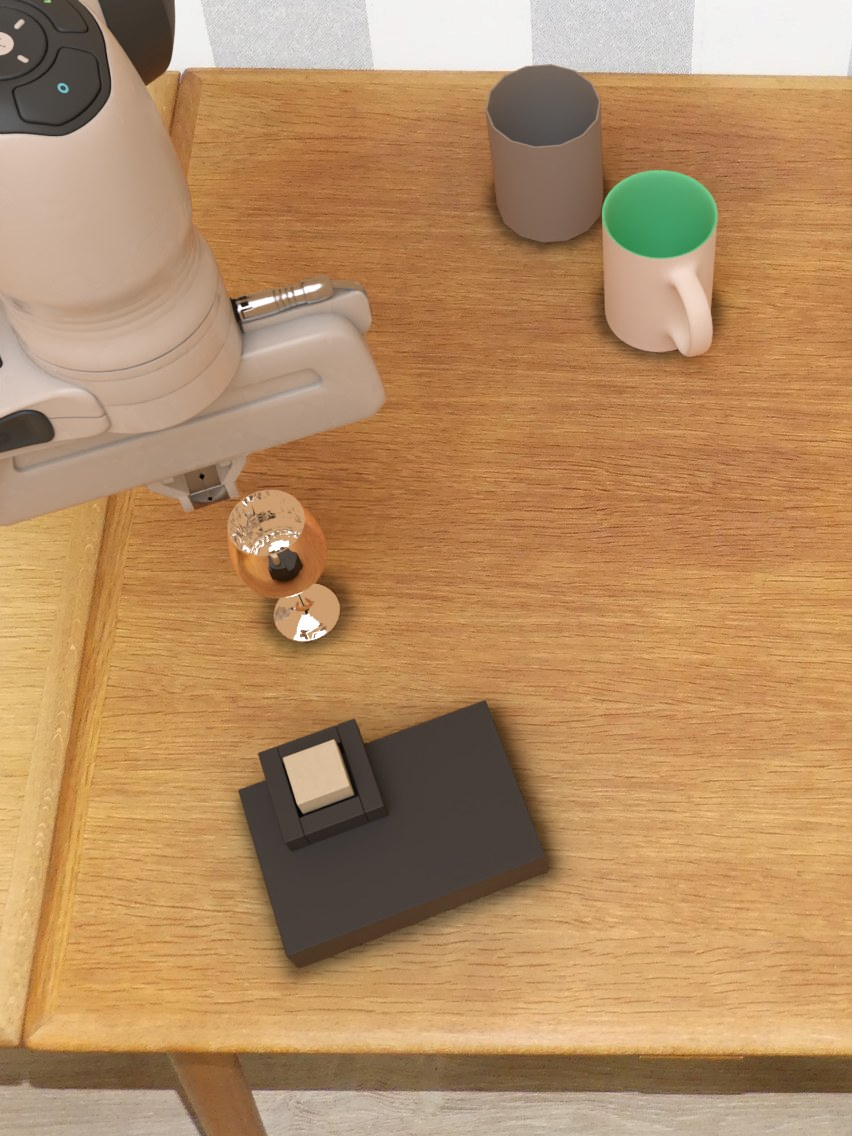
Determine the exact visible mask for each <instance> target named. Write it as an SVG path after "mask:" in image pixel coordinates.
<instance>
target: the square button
mask: <svg viewBox="0 0 852 1136" xmlns="http://www.w3.org/2000/svg"><path fill="white" fill-rule="evenodd" d="M283 761H284V764H285V767H286V770H287V774H288V777H289V780H290V783H291V786H292V790H293V793H294V796H295V799H296V803H297V805H298V807H299V808H300V810H301V811H302V813H303V814H305V813H308V812H310V811H313V810H316V809H318V808H321V807H324V806H327V805H329V804H332V803H335V802H337V801H340V800H343V799H345V798H348V797H351V796H354V791H353V788H352V785H351V782H350V779H349V776H348V773H347V770H346V767H345V764H344V761H343V758H342V755H341V752H340V749H339V747H338V745H337V743H336V741H335V740H331V741H328V742H325V743H322V744H320V745H317V746H314V747H311V748H308V749H306V750H303V751H300V752H297V753H295V754H292V755H289V756H286V757H284V758H283Z"/></svg>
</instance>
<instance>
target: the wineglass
mask: <svg viewBox="0 0 852 1136" xmlns="http://www.w3.org/2000/svg"><path fill="white" fill-rule="evenodd" d="M226 533H227V535H226V539H227V549H228V553H229V557H230V561H231V564H232V566H233V568H234V570H235V572H236V575H237V576H238V577H239V579H241V581H242V582H243V583H244V584H245V585H246V586H247V587H248V588H249V589H250V590H252V591H253V592H254V593H257V594H259V595H260V596H264V597H266V598H271V599H277V602H276V603H275V606H274V609H273V623H274V625H275V627H276V630H277V631H278V632H279V633H280V634H281V635H282V636H283V637H285V638H286V639H288V640H290V641H294V642H297V643H309V642H310V643H311V642H314V641H317V640H319V639H321V638H324V637H326V635H328V634H330V633H331V631H332V630H334V628H335V626H336V625H337V623H338V621H339V619H340V616H341V604H340V600H339V598H338V596H337V595H336V594H335V593H334V592H333V590H332V589H330V588H329V587H327V586H325V585H323V584H320V583H317V582H318V580H319V579H320V578H321V576H322V575H323V572H324V570H325V568H326V563H327V557H328V556H327V555H328V550H327V549H328V548H327V541H326V538H325V534H324V532H323V530H322V528H321V526H320V524H319V523H318V521H317V520H316V518H315V517H314V515H313V514H312V513H311V512H310V510H309V509H307V507H306V506H305V505H303V503H301V502H300V501H299V500H298V499H297V498H296V497H295V496H293V495H292V494H290V493H288V492H286V491H282V490H278V489H263V490H258V491H255V492H253V493H250V494H248V495H247V496H245V497H243V498H242V499H241V500H240V501H238V502H237V503H236V505H234V506H233V508H232V510H231V511H230V513H229V516H228V519H227V526H226Z"/></svg>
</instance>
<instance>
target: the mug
mask: <svg viewBox="0 0 852 1136" xmlns="http://www.w3.org/2000/svg"><path fill="white" fill-rule="evenodd" d="M717 206H718V205H717V203H716V200H715V198H714V197H713V195H712V194H711V192H710V191H709V190H708V189H707V188H706V187H705V185H703V184H702V183H701V182H699V181H698V180H697V179H695V178H694V177H691V176H689V175H686V174H685V173H682V172H677V171H672V170H665V169H653V170H652V169H651V170H645V171H640V172H637V173H635V174H632V175H629V176H627V177H625V178H624V179H622V180H620V181H619V182H618V183H616V185H614V186H613V187H612V188H611V189H610V191H608V194H607V195H606V197H605V199H604V200H603V203H602V210H601V227H602V230H601V231H602V253H603V254H602V258H603V259H602V260H603V261H602V262H603V263H602V264H603V293H604V295H603V296H604V315H605V319H606V322H607V326H609V328H610V330H611V331H612V333H613V334H614V335H615V336H616V337H617V338H618V339H619V340H621V342H623V343H624V344H626V345H628V346H630V347H633V348H634V349H635V348H636V349H638V350H640V351H646V352H652V353H664V352H665V353H667V352H672V351H676V350H678V352H679V353H681V355H683V356H684V357H686V358H692V357H697V356H700V355H703V354H705V353H706V352H708V350H709V349H710V348H711V346H712V342H713V334H714V332H713V331H714V330H713V329H714V327H713V317H712V303H713V302H712V301H713V287H714V273H715V260H716V259H715V258H716V247H717V246H716V245H717V234H718V233H717V232H718V221H719V220H718V219H719V212H718V207H717Z"/></svg>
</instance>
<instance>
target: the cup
mask: <svg viewBox="0 0 852 1136" xmlns="http://www.w3.org/2000/svg"><path fill="white" fill-rule="evenodd" d="M484 111H485V117H486V118H485V119H486V127H487V135H488V142H489V150H490V159H491V166H492V167H491V168H492V175H493V183H494V190H495V201H496V208H497V210H498V212H499V215H500V217H501V219H502V222H503V224H504V225H505V226H507V227H508V228H509V229H511V230H512V231H513V232H514V233H515V234H517V235H518V236H519V237H521V238H525V239H527V240H532V241H535V242H538V243H555V242H556V243H558V242H567V241H570V240H572V239H574V238H576V237H577V236H580V235H582V234H585V233H586V232H588V231H589V230H590V229H591V228H592V226H593V225H594V224H595V223H596V222H597V220H598V219H599V218H600V217H601V216H602V208H603V204H604V170H603V169H604V167H603V164H604V163H603V138H602V137H603V133H602V131H603V129H602V101H601V98H600V96H599V94H598V92H597V90H596V88H595V85H594V83H593V82H592V81H590V80H589V79H588V78H586V77H585V76H583V75H582V74H581V73H579V72H578V71H577V70H575V69H572V68H568V67H565V66H561V65H560V66H559V65H557V64H552V63H548V64H533V65H525V66H523V67H521V68H517V69H516V70H514V71H511V72H509V73H507V74H504V75H503V76H502V77H501V78H500V79H499V80H498V81H497V83H495V85H494V86H492V88H490V90H489V93H488V95H487V100H486V105H485V109H484Z"/></svg>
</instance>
